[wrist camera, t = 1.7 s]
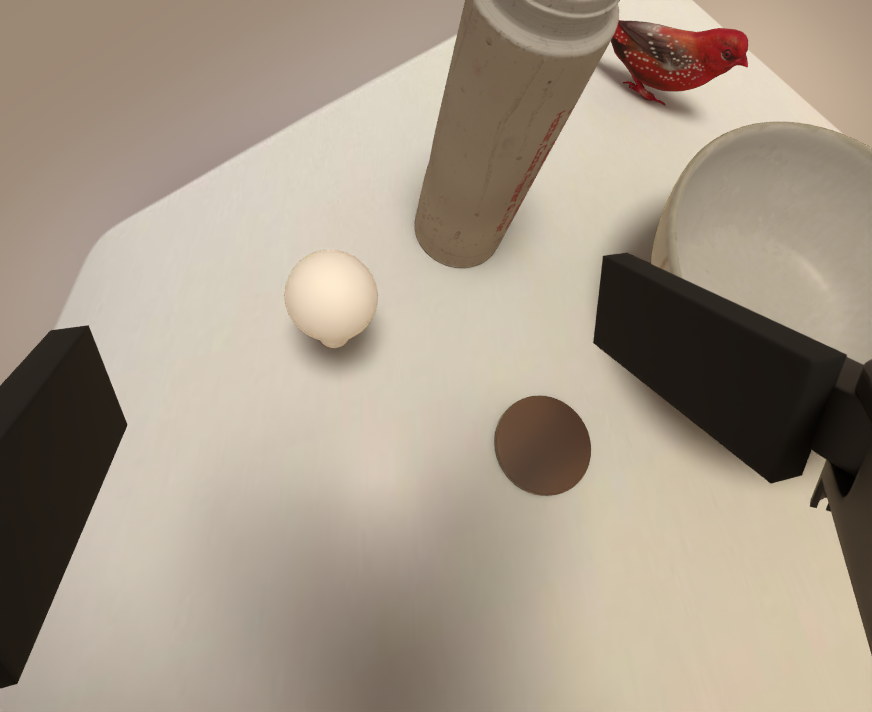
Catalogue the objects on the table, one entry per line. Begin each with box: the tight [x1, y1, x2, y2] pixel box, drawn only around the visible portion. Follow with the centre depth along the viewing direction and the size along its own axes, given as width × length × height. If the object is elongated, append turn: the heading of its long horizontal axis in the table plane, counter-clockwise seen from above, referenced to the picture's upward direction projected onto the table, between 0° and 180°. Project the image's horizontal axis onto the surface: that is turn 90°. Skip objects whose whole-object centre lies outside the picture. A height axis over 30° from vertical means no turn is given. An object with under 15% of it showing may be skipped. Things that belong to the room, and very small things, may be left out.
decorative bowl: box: [651, 122, 872, 365], centre depth 43 cm, size 27×27×12 cm
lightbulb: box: [284, 250, 378, 348], centre depth 37 cm, size 6×6×11 cm
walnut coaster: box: [495, 396, 591, 496], centre depth 42 cm, size 8×8×1 cm
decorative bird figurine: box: [611, 20, 748, 105], centre depth 52 cm, size 3×18×10 cm, turn 62°
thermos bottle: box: [415, 0, 620, 268], centre depth 34 cm, size 8×8×28 cm
